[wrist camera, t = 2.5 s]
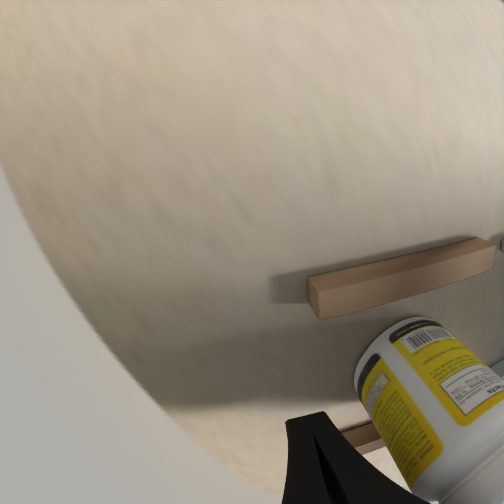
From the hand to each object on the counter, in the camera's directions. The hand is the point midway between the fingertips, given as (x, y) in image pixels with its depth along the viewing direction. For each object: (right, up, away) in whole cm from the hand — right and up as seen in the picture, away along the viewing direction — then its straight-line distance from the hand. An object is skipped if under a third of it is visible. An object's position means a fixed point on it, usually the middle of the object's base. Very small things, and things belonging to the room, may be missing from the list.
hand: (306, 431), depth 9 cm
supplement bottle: (+5, +2, +3) cm, 6 cm away
